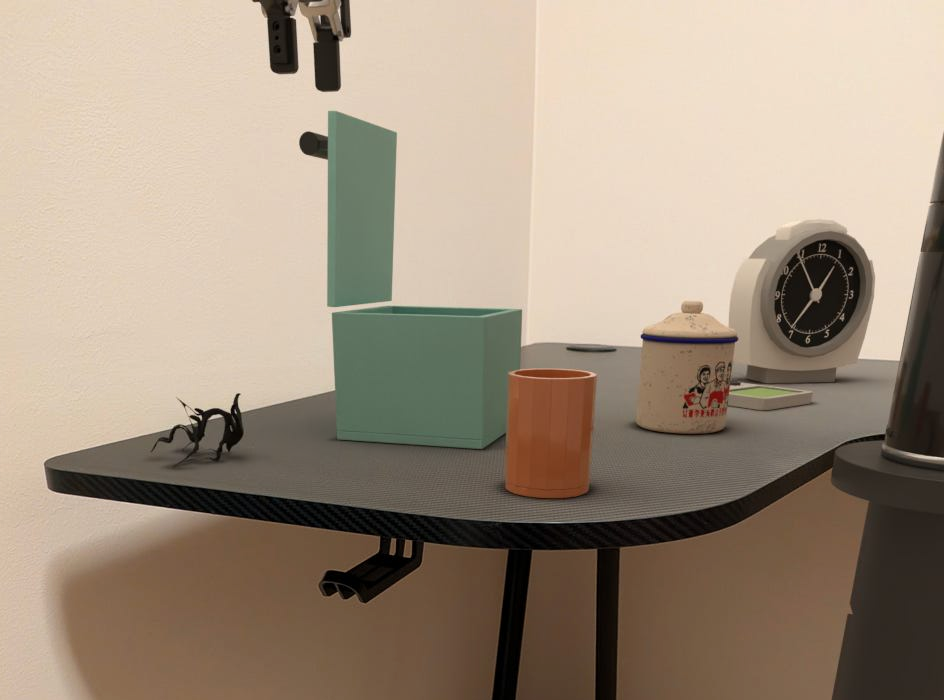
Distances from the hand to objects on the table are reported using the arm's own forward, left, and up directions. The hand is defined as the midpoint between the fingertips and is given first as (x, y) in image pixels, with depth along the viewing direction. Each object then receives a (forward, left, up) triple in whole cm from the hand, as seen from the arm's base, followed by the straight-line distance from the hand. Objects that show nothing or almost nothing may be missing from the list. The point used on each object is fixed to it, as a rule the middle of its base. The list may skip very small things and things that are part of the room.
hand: (307, 82), depth 78 cm
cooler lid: (-5, 0, -10) cm, 12 cm away
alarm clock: (-45, -55, -29) cm, 77 cm away
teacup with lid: (-34, -12, -29) cm, 46 cm away
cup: (-26, +19, -29) cm, 43 cm away
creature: (+3, +18, -29) cm, 34 cm away
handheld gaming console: (-38, -33, -29) cm, 58 cm away
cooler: (-11, 0, -29) cm, 31 cm away
